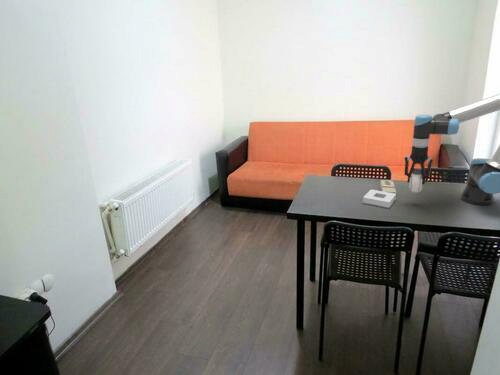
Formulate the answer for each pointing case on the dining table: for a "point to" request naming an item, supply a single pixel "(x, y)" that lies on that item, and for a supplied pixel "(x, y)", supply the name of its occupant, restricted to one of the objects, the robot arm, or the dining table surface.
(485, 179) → the robot arm
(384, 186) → the electrical outlet
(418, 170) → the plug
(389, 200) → the socket block
